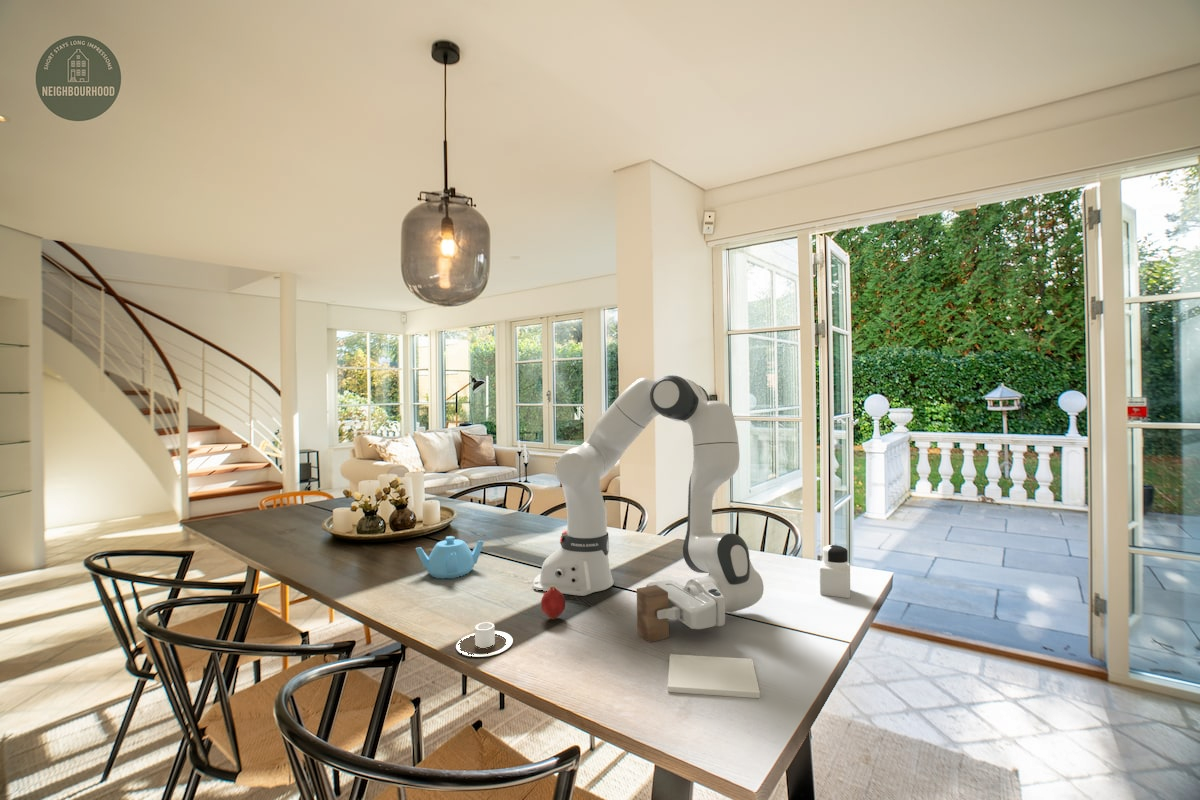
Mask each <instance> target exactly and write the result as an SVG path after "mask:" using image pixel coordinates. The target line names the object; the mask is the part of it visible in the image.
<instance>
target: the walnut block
mask: <svg viewBox="0 0 1200 800" xmlns="http://www.w3.org/2000/svg"><path fill="white" fill-rule="evenodd" d="M659 608H663V609H668V592H667V591H665V590H664V589H662V588H660V587H659V586H657V585H653V586H648V587H646V586H644V587H639V588H636V618H637V619H636V623H637V625H636V626H637V629H636V630H637V633H636V634H638V635H639V636H640V637H641V636H642V637H641V638H643V639H644V640H645V641H646V642H647V641H648V642H647V643H653V642H656V641H660V639H661V640H665V639H669V637H670V633H669V619H667V618H664V619H658V618H657V617H656V616H655V609H659ZM664 638H665V639H664Z"/></svg>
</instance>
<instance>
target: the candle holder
mask: <svg viewBox="0 0 1200 800" xmlns="http://www.w3.org/2000/svg"><path fill="white" fill-rule="evenodd" d="M495 634H497V635H500V636H502V637H504V638H505V639H506V642H505V644H506V645H505V644H504V646H503V647H502V648H500V649H498V650H496V651H492V652H489V653H488V654H487V653H473V654H474V655H473V654H472V655H471V654H469V655H468V653H467V652H468V651H467V652H464V651H461V650H460V649H461V648H460V644H459V643H461V642H460V641H461V640H462V641H463V640H464V639H466V638H469V637H470V636H474V635H475V638H474V645H476V646H478V647H480V648H486V647H490V646H492V645H493V646H495V644H496V636H495ZM460 639H461V640H460ZM460 639H459V640H458V642H456V645H455V648H456V651H457V652H458V653H459V654H461V653H462V655H463V656H467V657H471V656H472V658H473V657H477V658H480V657H481V658H483V657H484V658H485V657H490V656H494V655H498V654H500V653H503V652H505V651H506V650H508V649H509V648H510V647H511V646H512V645H513V643H514V638H513V637H512V636H511V635H510V634H509V633H508V632H505V631H500V630H495V624H494V623H493V622H489V621H488V622H480V623H477V624H476V625H474V632H473V633H470V634H467V635H466V636H463V637H461V638H460ZM458 644H459V645H458ZM476 646H475V647H476ZM493 646H492V647H493ZM480 648H479V649H480ZM490 648H491V647H490ZM486 649H487V648H486Z"/></svg>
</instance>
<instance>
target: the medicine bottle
mask: <svg viewBox="0 0 1200 800" xmlns="http://www.w3.org/2000/svg"><path fill="white" fill-rule="evenodd" d="M848 561H849V559H848V549H847V548H845V547H844V546H841V545H838V544H837V545H836V544H829V545H825V546H823V547H822V560H821V561H820V565H819V593H820V595H821V596H827V595H828V596H829V597H836V598H843V599H850V598H851V563H850V562H848ZM828 596H827V597H828Z"/></svg>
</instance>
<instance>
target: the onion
mask: <svg viewBox="0 0 1200 800" xmlns="http://www.w3.org/2000/svg"><path fill="white" fill-rule="evenodd" d="M540 607H541V611H542V612H543V614H545V615H546V616H548V617H549V618H550V619H551V620H556V619H557V618H559V616H561V615H562V614H563V612H564V611H565V609H566V598H565V595H564V594H563V593H561V592H560V591H559V590H557V589H556V588H555V586H551V588H550V590H548V591H547V592H546V591H545V592H544V594H543V596H542V597H541V601H540Z"/></svg>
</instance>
